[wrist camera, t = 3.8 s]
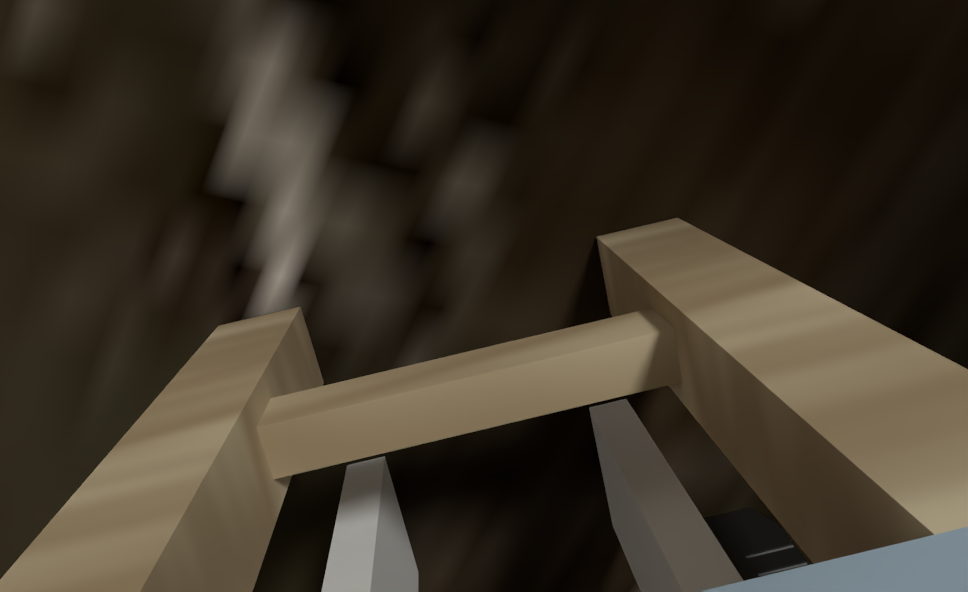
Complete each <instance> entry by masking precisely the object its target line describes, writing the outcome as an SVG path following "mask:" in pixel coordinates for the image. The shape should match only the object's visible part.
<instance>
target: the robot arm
mask: <svg viewBox="0 0 968 592" xmlns="http://www.w3.org/2000/svg"><path fill="white" fill-rule="evenodd" d="M589 410H590V415H591V420H592V425H593V430H594V435H595V440H596V445H597V450H598V455H599V460H600V465H601V470H602V475H603V480H604V485H605V490H606V495H607V500H608V505H609V510H610V515H611V520H612V525H613V528H614V530H615V532H616V535H617V537H618V539H619V542H620V544H621V546H622V549H623V551H624V553H625V556H626V558H627V561H628V563H629V565H630V568H631V570H632V572H633V575H634V577H635V579H636V582H637V584H638V586H639V589H640V591H641V592H700V591H704V590H708V589H712V588H716V587H721V586H725V585H729V584H733V583H737V582H741V581H745V580H750V579H754V578H758V577H762V576H766V575H770V574H774V573H778V572H783V571H787V570H791V569H795V568H799V567H803V566H807V565H808V564H807V561H806V559H805V558H804V557H803V556H802V554H801V553H800V552H799V551H798V549H797V548H794V546H793V543H792V542H791V541H790V540H789V538H788V537H787V536H786V535H785V533H784V532H783V531H782V530H781V528H780V527H779V526H778V525H777V523H776V522H774V521H772V520H770V519H769V518H767V517H765V516H763V515H761V514H760V513H758V512H756V511H754V510H752V509H751V508H745V509H741V510H737V511H733V512H729V513H724V514H720V515H716V516H712V517H708V518H704V519H703V517H702V515H701V514H700V512H699V511H698V509H697V508H696V506H695V505H694V503H693V501H692V500H691V498H690V497H689V495H688V494H687V492H686V491H685V489H684V488H683V486H682V484H681V483H680V481H679V480H678V478H677V477H676V475H675V474H674V472H673V470H672V469H671V467H670V466H669V464H668V463H667V461H666V460H665V458H664V456H663V455H662V453H661V452H660V450H659V449H658V447H657V446H656V444H655V442H654V441H653V439H652V438H651V436H650V435H649V433H648V432H647V430H646V428H645V427H644V425H643V424H642V422H641V421H640V419H639V418H638V416H637V415H636V413H635V411H634V410H633V408H632V407H631V405H630V404H629V402H628V401H627V399H623V400H619V401H614V402H610V403H606V404H602V405H598V406H593V407H589ZM321 592H418V569H417V566H416V562H415V559H414V555H413V552H412V549H411V545H410V542H409V538H408V535H407V531H406V528H405V524H404V521H403V517H402V514H401V511H400V507H399V504H398V500H397V497H396V493H395V490H394V486H393V483H392V479H391V476H390V473H389V469H388V466H387V462H386V459H385V456H384V457H380V458H375V459H371V460H367V461H363V462H359V463H354V464H350V465H347V468H346V473H345V478H344V483H343V488H342V493H341V498H340V503H339V508H338V512H337V517H336V522H335V527H334V532H333V537H332V542H331V547H330V552H329V556H328V561H327V566H326V571H325V576H324V581H323V586H322V591H321Z"/></svg>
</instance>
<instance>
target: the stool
mask: <svg viewBox="0 0 968 592" xmlns="http://www.w3.org/2000/svg"><path fill="white" fill-rule="evenodd" d="M596 238H597V243H598V248H599V254H600V259H601V265H602V270H603V276H604V281H605V286H606V292H607V297H608V303H609V308H610V314H611V315H612V318H607V319H603V320H599V321H595V322H591V323H586V324H582V325H578V326H574V327H569V328H565V329H561V330H557V331H553V332H548V333H544V334H540V335H536V336H531V337H527V338H523V339H519V340H515V341H510V342H506V343H502V344H498V345H494V346H489V347H485V348H481V349H477V350H472V351H468V352H464V353H460V354H456V355H451V356H447V357H443V358H439V359H434V360H430V361H426V362H422V363H418V364H413V365H409V366H405V367H401V368H397V369H392V370H388V371H384V372H380V373H375V374H371V375H367V376H363V377H359V378H354V379H350V380H346V381H342V382H337V383H333V384H329V385H325V386H323V383H324V382H323V378H322V375H321V372H320V369H319V365H318V362H317V359H316V356H315V352H314V349H313V346H312V343H311V339H310V336H309V333H308V329H307V326H306V323H305V320H304V316H303V313H302V310H301V307H296V308H292V309H288V310H283V311H279V312H275V313H271V314H266V315H262V316H258V317H254V318H249V319H245V320H241V321H237V322H233V323H228V324H224V325H220V326H218V327H217V328H216V329H215V330H214V331H213V333H212V334H211V335H210V336H209V337H208V338H207V340H206V341H205V342H204V343H203V344H202V345H201V347H200V348H199V349H198V350H197V351H196V352H195V354H194V355H193V356H192V357H191V358H190V359H189V361H188V362H187V363H186V364H185V365H184V366H183V368H182V369H181V370H180V371H179V372H178V373H177V375H176V376H175V377H174V378H173V379H172V380H171V382H170V383H169V384H168V385H167V386H166V387H165V389H164V390H163V391H162V392H161V393H160V394H159V396H158V397H157V398H156V399H155V400H154V401H153V402H152V404H151V405H150V406H149V407H148V408H147V409H146V411H145V412H144V413H143V414H142V415H141V416H140V418H139V419H138V420H137V421H136V422H135V423H134V425H133V426H132V427H131V428H130V429H129V430H128V432H127V433H126V434H125V435H124V436H123V437H122V439H121V440H120V441H119V442H118V443H117V444H116V446H115V447H114V448H113V449H112V450H111V451H110V453H109V454H108V455H107V456H106V457H105V458H104V460H103V461H102V462H101V463H100V464H99V465H98V466H97V468H96V469H95V470H94V471H93V472H92V473H91V475H90V476H89V477H88V478H87V479H86V480H85V482H84V483H83V484H82V485H81V486H80V487H79V489H78V490H77V491H76V492H75V493H74V494H73V496H72V497H71V498H70V499H69V500H68V501H67V503H66V504H65V505H64V506H63V507H62V508H61V510H60V511H59V512H58V513H57V514H56V515H55V517H54V518H53V519H52V520H51V521H50V522H49V524H48V525H47V526H46V527H45V528H44V529H43V530H42V532H41V533H40V534H39V535H38V536H37V537H36V539H35V540H34V541H33V542H32V543H31V544H30V546H29V547H28V548H27V549H26V550H25V551H24V553H23V554H22V555H21V556H20V557H19V558H18V560H17V561H16V562H15V563H14V564H13V565H12V567H11V568H10V569H9V570H8V571H7V572H6V574H5V575H4V576H3V577H2V578H1V579H0V592H253V589H254V586H255V583H256V580H257V577H258V574H259V571H260V568H261V565H262V562H263V559H264V556H265V553H266V550H267V548H268V545H269V542H270V539H271V536H272V533H273V530H274V527H275V524H276V521H277V518H278V515H279V512H280V509H281V506H282V503H283V501H284V498H285V495H286V492H287V489H288V486H289V483H290V480H291V477H292V475H294V474H298V473H302V472H307V471H311V470H315V469H319V468H323V467H328V466H332V465H336V464H340V463H344V462H349V461H353V460H357V459H361V458H365V457H370V456H374V455H378V454H382V453H386V452H391V451H395V450H399V449H403V448H407V447H412V446H416V445H420V444H424V443H428V442H432V441H437V440H441V439H445V438H449V437H453V436H458V435H462V434H466V433H470V432H474V431H479V430H483V429H487V428H491V427H495V426H500V425H504V424H508V423H512V422H516V421H521V420H525V419H529V418H533V417H537V416H542V415H546V414H550V413H554V412H558V411H562V410H567V409H571V408H575V407H579V406H583V405H588V404H592V403H596V402H600V401H604V400H609V399H613V398H617V397H621V396H625V395H630V394H634V393H638V392H642V391H646V390H651V389H655V388H659V387H663V386H667V385H668V386H669V387H670V388H671V389H672V391H673V392H674V393H675V394H676V395H677V397H678V398H679V399H680V400H681V402H682V403H683V404H684V405H685V407H686V408H687V409H688V410H689V411H690V413H691V414H692V415H693V416H694V418H695V419H696V420H697V421H698V423H699V424H700V425H701V426H702V427H703V429H704V430H705V431H706V432H707V434H708V435H709V436H710V437H711V439H712V440H713V441H714V442H715V444H716V445H717V446H718V447H719V448H720V450H721V451H722V452H723V453H724V455H725V456H726V457H727V458H728V460H729V461H730V462H731V463H732V464H733V466H734V467H735V468H736V469H737V471H738V472H739V473H740V474H741V476H742V477H743V478H744V479H745V480H746V482H747V483H748V484H749V485H750V487H751V488H752V489H753V490H754V492H755V493H756V494H757V495H758V496H759V498H760V499H761V500H762V501H763V503H764V504H765V505H766V506H767V508H768V509H769V510H770V511H771V512H772V514H773V515H774V516H775V517H776V519H777V520H778V521H779V522H780V524H781V525H782V526H783V527H784V528H785V530H786V531H787V532H788V533H789V535H790V536H791V537H792V538H793V540H794V541H795V542H796V543H797V544H798V546H799V547H800V548H801V549H802V551H803V552H804V553H805V554H806V556H807V557H808V558H809V559H810V560H811V562H812V563H813V564H811V565H807V566H803V567H799V568H795V569H791V570H787V571H783V572H778V573H774V574H770V575H766V576H762V577H758V578H754V579H750V580H745V581H741V582H737V583H733V584H729V585H725V586H721V587H716V588H712V589H708V590H704V591H700V592H968V369H966V368H964V367H962V366H960V365H959V364H957V363H955V362H953V361H951V360H949V359H947V358H945V357H943V356H941V355H939V354H937V353H936V352H934V351H932V350H930V349H928V348H926V347H924V346H922V345H920V344H918V343H916V342H915V341H913V340H911V339H909V338H907V337H905V336H903V335H901V334H899V333H897V332H895V331H893V330H892V329H890V328H888V327H886V326H884V325H882V324H880V323H878V322H876V321H874V320H872V319H870V318H869V317H867V316H865V315H863V314H861V313H859V312H857V311H855V310H853V309H851V308H849V307H848V306H846V305H844V304H842V303H840V302H838V301H836V300H834V299H832V298H830V297H828V296H826V295H825V294H823V293H821V292H819V291H817V290H815V289H813V288H811V287H809V286H807V285H805V284H804V283H802V282H800V281H798V280H796V279H794V278H792V277H790V276H788V275H786V274H784V273H782V272H781V271H779V270H777V269H775V268H773V267H771V266H769V265H767V264H765V263H763V262H761V261H759V260H758V259H756V258H754V257H752V256H750V255H748V254H746V253H744V252H742V251H740V250H738V249H737V248H735V247H733V246H731V245H729V244H727V243H725V242H723V241H721V240H719V239H717V238H715V237H714V236H712V235H710V234H708V233H706V232H704V231H702V230H700V229H698V228H696V227H694V226H692V225H691V224H689V223H687V222H685V221H683V220H681V219H679V218H674V219H670V220H665V221H661V222H657V223H653V224H648V225H644V226H640V227H636V228H631V229H627V230H623V231H619V232H614V233H610V234H606V235H602V236H597V237H596Z"/></svg>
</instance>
